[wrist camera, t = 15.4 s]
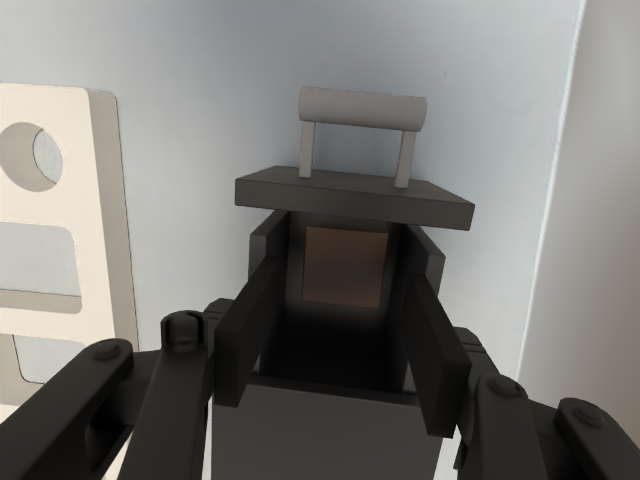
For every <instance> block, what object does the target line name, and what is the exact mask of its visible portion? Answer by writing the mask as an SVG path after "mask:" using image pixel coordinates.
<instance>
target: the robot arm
mask: <svg viewBox="0 0 640 480" xmlns="http://www.w3.org/2000/svg"><path fill="white" fill-rule="evenodd" d="M281 259H282V257H276V256H268V255H266V256H265V257H264V259H263V260H262V261H261V263H260V264H259V266H258V267H257V269H256V270H255V272H254V273H253V274H252V276H251V277H250V279H249V280H248V282H247V283H246V285H245V286H244V287H243V289H242V290H241V292H240V293H239V295H238V296H237V298H236V299H235V300H232V299H224V298H219V299H217V300H216V301H214V302H212V303H210V304H209V305H208V306H207V308H206V309H205V310H204V312H203V313H202V312H198V311H193V310H184V311H177V312H174V313H171V314H169V315H167V316H166V317H164V318H163V319H162V321H161V322H160V323H161V343H162V347H161V349H160V350H155V351H144V352H133V346H132V343H131V342H129V341H128V340H125V339H121V338H110V339H104V340H100V341H98V342H95V343H93V344H91V345H89V346H88V347H86V348H85V349H83V350H82V351H81V352H80V353H79V354H78V355H77V356H76V357H74V358H73V359H72V360H71V361H70V362H69V363H68V364H67V365H66V366H64V367H63V368H62V369H61V370H60V371H59V372H58V373H57V374H56V375H54V376H53V377H52V378H51V379H50V380H49V381H48V382H47V383H46V384H44V385H43V386H42V387H41V388H40V389H39V390H38V391H37V392H36V393H34V394H33V395H32V396H31V397H30V398H29V399H28V400H27V401H26V402H24V403H23V404H22V405H21V406H20V407H19V408H18V409H17V410H16V411H14V412H13V413H12V414H11V415H10V416H9V417H8V418H7V419H6V420H4V421H3V422H2V423H1V424H0V480H102V478H103V477H104V475H105V473H106V472H107V470H108V469H109V467H110V466H111V464H112V463H113V461H114V460H115V458H116V456H117V455H118V453H119V452H120V450H121V449H122V447H123V446H124V444H125V442H126V441H127V439H128V438H129V436H130V435H131V433H132V432H133V433H132V436H131V439H130V442H129V445H128V448H127V450H126V453H125V456H124V459H123V462H122V465H121V468H120V471H119V474H118V477H117V480H202V470H203V460H204V450H205V440H206V430H207V420H208V401H209V399H210V398H211V396H212V394H213V392H214V405H219V406H226V407H233V408H238V405H239V403H240V400H241V398H242V395H243V393H244V391H245V388H246V386H247V383H248V381H249V378H250V376H251V374H252V371H253V369H254V366H255V364H256V361H257V359H258V357H259V354H260V352H261V349H262V347H263V344H264V342H265V340H266V337H267V335H268V332H269V330H270V327H271V325H272V323H273V320H274V318H275V315H276V313H277V310H278V305H279V289H280V274H281ZM399 326H400V330H401V334H402V338H403V342H404V346H405V349H406V353H407V357H408V361H409V365H410V369H411V373H412V377H413V381H414V384H415V388H416V392H417V396H418V400H419V404H420V408H421V412H422V415H423V419H424V423H425V427H426V431H427V435H429V436H436V437H443V438H451V439H453V435H454V431H455V428H456V424H457V426H458V429H459V431H460V434H461V441H460V445H459V448H458V452H457V455H456V459H455V463H454V466H453V469H456V470H457V468H458V477H457V480H640V449H639V448H638V447H637V446H636V445H635V443H634V442H633V441H632V440H631V439H630V437H629V436H628V435H627V434H626V433H625V432H624V430H623V429H622V428H621V427H620V426H619V424H618V423H617V422H616V421H615V420H614V419H613V418H612V417H611V416H610V415H609V414H608V413H607V412H605V411H603V410H602V409H600V408H599V407H598V406H596V405H594V404H592V403H590V402H587V401H584V400H580V399H577V398H564V399H561V400H560V403H559V406H558V409H555V408H553V407H550V406H546V405H544V404H541V403H538V402H535V401H532V400H530V399H528V395H527V393H526V391H525V389H524V388H523V387H521V385H519V384H518V383H517V382H516V381H514V380H512V379H511V378H509V377H506V376H504V375H501V374H500V373H499V371H498V369H497V368H496V366H495V365H494V363H493V361H492V360H491V358H490V357H489V355H488V354H487V352H486V350H485V349H484V347H482V344H481V342H480V341H479V339H478V337H477V336H476V335H474V334H473V333H472V332H471V331H470V330H468V329H467V328H461V327H453V326H452V324H451V322H450V320H449V318H448V317H447V315H446V313H445V311H444V309H443V307H442V305H441V303H440V302H439V300H438V298H437V296H436V294H435V292H434V290H433V288H432V286H431V285H430V283H429V281H428V279H427V277H426V275H425V274H419V273H411V272H408V277H407V283H406V288H405V294H404V299H403V304H402V310H401V315H400V321H399Z"/></svg>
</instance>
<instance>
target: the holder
mask: <svg viewBox="0 0 640 480" xmlns="http://www.w3.org/2000/svg"><path fill="white" fill-rule="evenodd" d="M41 129H44V130H45V131H46V132H47V133H48V134H49V135H50V136H51V137H52V138H53V139H54V140H55V142H56V143H57V145H58V147H59V149H60V152H61V155H62V160H63V171H62V175H61V178H60V180H59V181H58V183H57V184H54V183H52V182H51V181H49V180H48V179H47V178H46V177H45V176H44V175H43V174H42V173H41V172H40V170H39V169H38V167H37V165H36V163H35V160H34V157H33V142H34V138H35V136H36V134H37V133H38V132H39V131H40V130H41ZM0 221H4V222H16V223H28V224H40V225H52V226H62V227H64V228H66V229H67V230H69V231H70V233H71V234H72V236H73V240H74V248H75V255H76V262H77V270H78V277H79V284H80V292H81V297H75V296H64V295H53V294H43V293H32V292H21V291H11V290H0V424H1V423H2V422H3V421H4V420H6V419H7V418H8V417H9V416H10V415H11V414H12V413H13V412H14V411H16V410H17V409H18V408H19V407H20V406H21V405H22V404H23V403H24V402H26V401H27V400H28V399H29V398H30V397H31V396H32V395H33V394H34V393H36V392H37V391H38V390H39V389H40V388H41V387H42V386H43V385H44V384H38V383H30V382H27V381H25V380H24V379H23V378H22V377H21V374H20V370H19V365H18V360H17V355H16V350H15V345H14V340H13V335H23V336H33V337H43V338H52V339H62V340H72V341H79V342H81V343H83V344H84V345H85V346H86V347H88V346H89V345H91V344H93V343H95V342H98V341H100V340H104V339H110V338H121V339H125V340H128V341H129V342H131V343H132V346H133V352H139V348H138V337H137V326H136V315H135V304H134V293H133V282H132V271H131V260H130V249H129V238H128V227H127V216H126V205H125V194H124V183H123V172H122V161H121V150H120V139H119V128H118V117H117V105H116V98H115V97H114V96H113V95H112V94H109V93H104V92H100V91H95V90H90V89H85V88H78V87H61V86H45V85H28V84H11V83H0ZM12 334H13V335H12ZM132 433H133V432H132ZM132 433H131V435H130V436H129V438H128V439H127V441H126V442H125V444H124V446H123V447H122V449H121V450H120V452H119V453H118V455H117V456H116V458H115V460H114V461H113V463H112V464H111V466H110V467H109V469H108V470H107V472H106V473H105V475H104V477H103V478H102V480H117V477H118V474H119V471H120V468H121V465H122V462H123V459H124V456H125V453H126V450H127V448H128V445H129V442H130V439H131V436H132Z"/></svg>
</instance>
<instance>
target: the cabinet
mask: <svg viewBox="0 0 640 480" xmlns="http://www.w3.org/2000/svg"><path fill="white" fill-rule="evenodd" d="M442 441H443V437H436V436H429V435H427V431H426V427H425V423H424V419H423V415H422V412H421V408H420V404H419V400H418V396H411V395H403V394H396V393H388V392H380V391H373V390H365V389H358V388H350V387H342V386H335V385H327V384H320V383H312V382H304V381H297V380H289V379H282V378H274V377H266V376H259V375H251V376H250V378H249V381H248V383H247V386H246V388H245V391H244V393H243V395H242V398H241V400H240V403H239V405H238V408H233V407H226V406H219V405H214V392H213V394H212V451H211V480H433V478H434V474H435V470H436V466H437V462H438V457H439V453H440V449H441V445H442Z"/></svg>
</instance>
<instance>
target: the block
mask: <svg viewBox="0 0 640 480" xmlns="http://www.w3.org/2000/svg"><path fill="white" fill-rule="evenodd" d="M388 239H389V232H388V230H387V228H386V226H385V224H384V222H382V221H373V220H364V219H355V218H346V217H337V216H328V215H319V214H312V215H311V217H310V219H309V221H308V224H307V226H306V234H305V250H304V265H303V281H302V297H301V300H302V301H306V302H316V303H326V304H336V305H346V306H356V307H366V308H376V309H379V307H380V299H381V292H382V284H383V277H384V269H385V262H386V254H387V247H388Z"/></svg>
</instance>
